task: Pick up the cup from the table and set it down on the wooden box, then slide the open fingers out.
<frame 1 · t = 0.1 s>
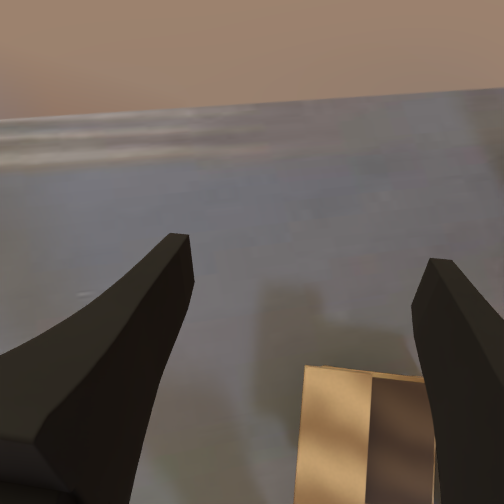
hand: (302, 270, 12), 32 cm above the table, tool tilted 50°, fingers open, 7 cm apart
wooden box: (367, 428, 42), on the table
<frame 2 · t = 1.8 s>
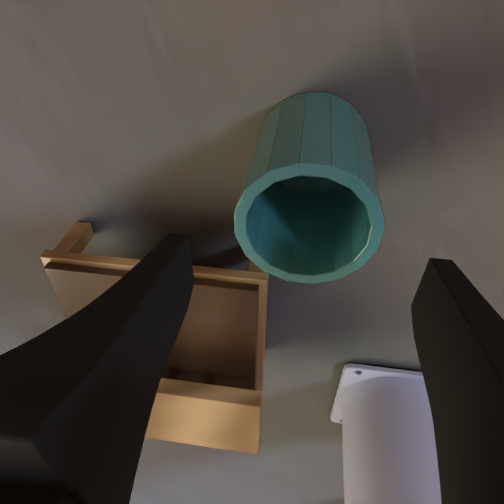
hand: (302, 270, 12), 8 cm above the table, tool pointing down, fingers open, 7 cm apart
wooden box: (180, 293, 27), on the table
cup: (312, 147, 19), on the table
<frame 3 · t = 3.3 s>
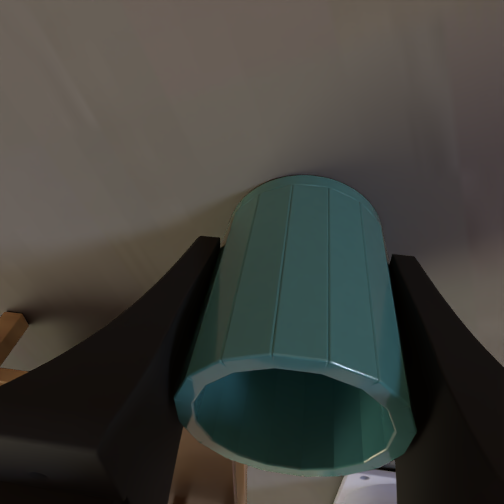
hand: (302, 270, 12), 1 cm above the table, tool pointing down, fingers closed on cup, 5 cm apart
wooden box: (143, 388, 21), on the table
cup: (303, 241, 14), on the table, touching gripper
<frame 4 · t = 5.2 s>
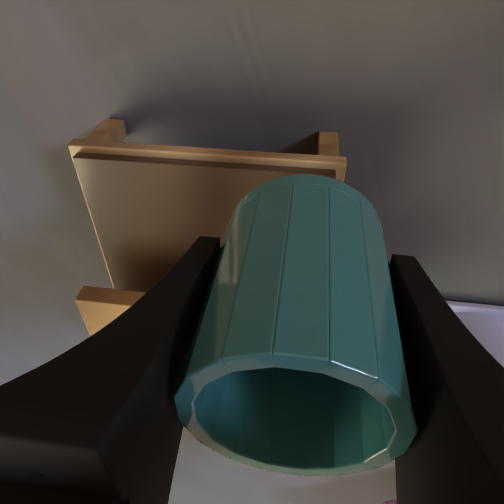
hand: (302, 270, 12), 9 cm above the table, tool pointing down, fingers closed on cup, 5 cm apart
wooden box: (223, 213, 23), on the table
cup: (303, 240, 14), point 8 cm above the table, touching gripper
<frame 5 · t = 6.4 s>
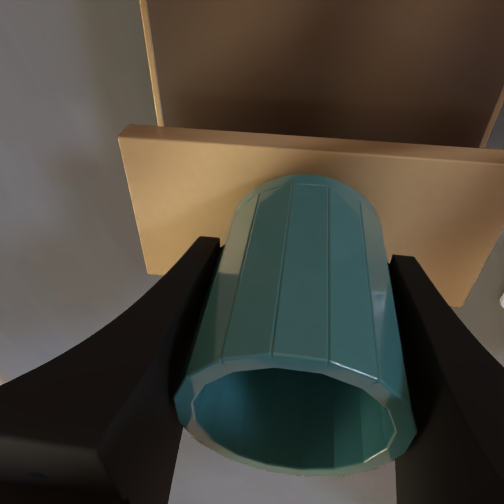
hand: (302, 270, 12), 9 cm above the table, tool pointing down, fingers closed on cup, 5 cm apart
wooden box: (322, 48, 16), on the table
cup: (303, 241, 14), point 7 cm above the table, touching gripper
when the fingers open (8 cm above the table, at t = 7.1 s): cup stays where it is, resting on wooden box.
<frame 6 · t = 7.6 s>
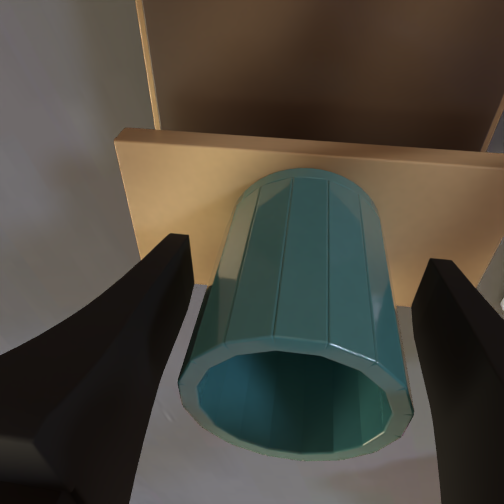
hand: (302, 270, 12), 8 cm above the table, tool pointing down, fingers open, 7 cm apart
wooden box: (321, 50, 16), on the table
cup: (303, 234, 14), point 6 cm above the table, touching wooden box
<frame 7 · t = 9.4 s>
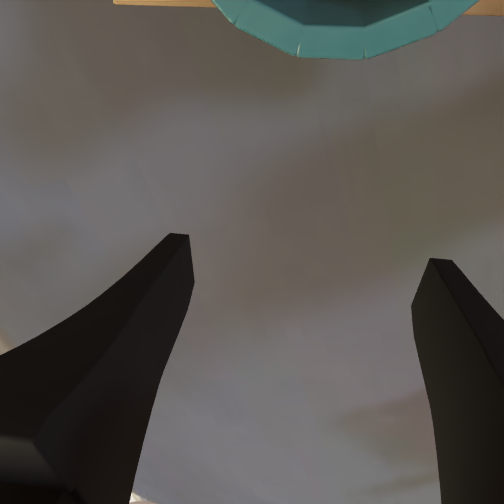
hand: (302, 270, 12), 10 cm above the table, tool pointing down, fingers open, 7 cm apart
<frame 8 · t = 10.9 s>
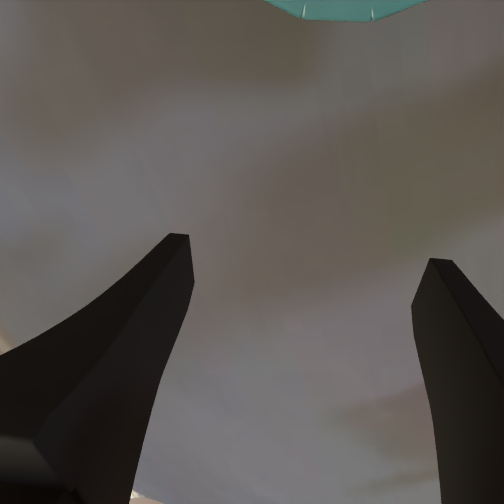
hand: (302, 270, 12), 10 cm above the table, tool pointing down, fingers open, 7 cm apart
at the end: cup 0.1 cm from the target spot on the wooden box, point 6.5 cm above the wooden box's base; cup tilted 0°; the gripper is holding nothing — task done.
